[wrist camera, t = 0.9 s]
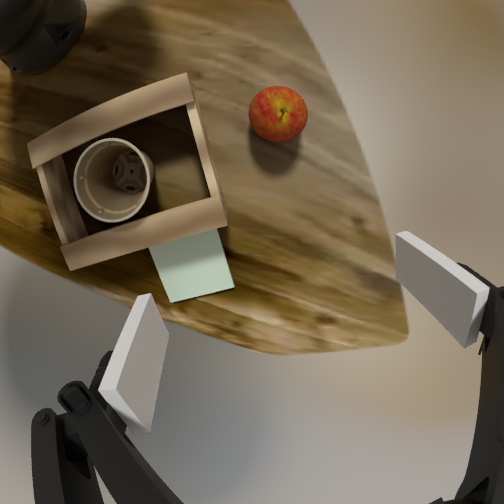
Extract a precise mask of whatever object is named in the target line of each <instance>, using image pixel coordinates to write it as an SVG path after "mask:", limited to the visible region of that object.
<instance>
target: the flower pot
mask: <svg viewBox="0 0 504 504" xmlns="http://www.w3.org/2000/svg"><path fill="white" fill-rule="evenodd" d="M133 151H135V152H136V153H137V154H138V155H132V154H130V152H133ZM116 166H118V172H117V173H116ZM131 170H133V173H130V171H131ZM153 176H154V166H153V162H152V161H151V159H150V157H149V156H148V155H147V154H146V153H145V152H144V151H142V150H139V149H137V148H136V147H135V146H134V145H133V144H131V143H129V142H128V141H125V140H122V139H118V138H107V139H102V140H99V141H97V142H95V143H93V144H92V145H90V146H89V147H88V148H87V149H86V150H85V151H84V152H83V153H82V155H81V156H80V158H79V160H78V162H77V164H76V167H75V171H74V188H75V193H76V196H77V198H78V201H79V202H80V204H81V206H82V207H83V208H84V209H85V210H86V211H87V213H89V214H90V215H91V216H92V217H94V218H96V219H98V220H101V221H104V222H120V221H123V220H126V219H128V218H130V217H132V216H133V215H134V214H136V213H137V212H138V211H139V210H140V208H141V207H142V205H143V204H144V202H145V200H146V198H147V195H148V192H149V188H150V183H151V182H152V179H153ZM127 186H129V187H134V188H135V189H134V190H129V189H127Z"/></svg>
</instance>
